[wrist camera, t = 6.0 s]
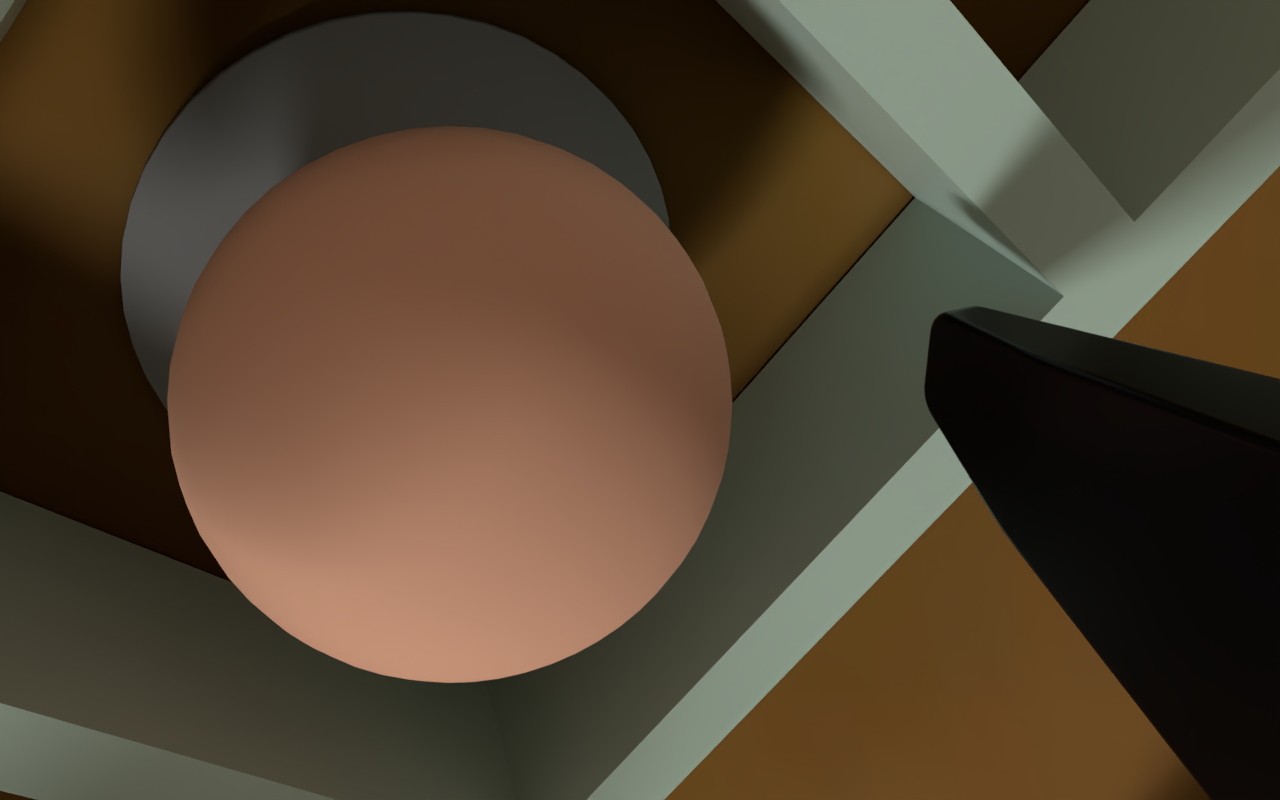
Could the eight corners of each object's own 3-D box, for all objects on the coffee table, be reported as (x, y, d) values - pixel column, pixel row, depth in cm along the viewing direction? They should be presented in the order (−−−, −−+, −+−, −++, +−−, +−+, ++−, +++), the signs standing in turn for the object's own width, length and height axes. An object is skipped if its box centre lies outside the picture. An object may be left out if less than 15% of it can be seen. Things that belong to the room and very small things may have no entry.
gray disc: (761, 224, 13) (768, 231, 13) (465, 570, 14) (468, 580, 14) (342, -130, 10) (344, -126, 10) (6, 359, 11) (3, 369, 11)
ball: (643, 429, 14) (816, 710, 10) (242, 520, 13) (255, 883, 9) (620, 33, 11) (847, 197, 7) (110, 100, 10) (39, 344, 6)
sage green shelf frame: (1274, -110, 13) (1513, -75, 11) (326, 935, 17) (342, 1130, 15) (636, -1308, 7) (852, -1862, 5) (-584, 748, 11) (-809, 1026, 9)
